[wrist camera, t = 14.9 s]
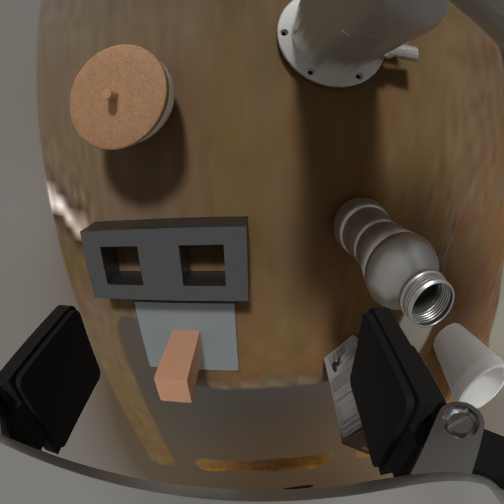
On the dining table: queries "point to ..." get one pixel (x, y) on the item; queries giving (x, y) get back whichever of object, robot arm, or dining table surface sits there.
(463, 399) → the foam cup
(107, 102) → the lidded jar
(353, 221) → the plastic bottle
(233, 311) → the mat
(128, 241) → the socket plate
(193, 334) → the plug
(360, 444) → the coffee box
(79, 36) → the dining table surface
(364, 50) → the robot arm
